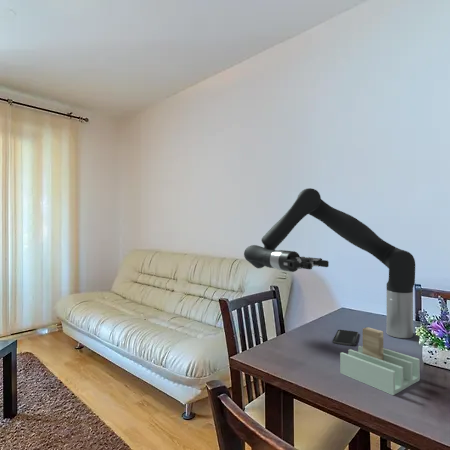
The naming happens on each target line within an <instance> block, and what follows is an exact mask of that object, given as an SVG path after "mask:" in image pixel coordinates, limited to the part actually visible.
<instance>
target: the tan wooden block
mask: <svg viewBox="0 0 450 450" xmlns="http://www.w3.org/2000/svg"><path fill="white" fill-rule="evenodd" d="M362 346H363V354H366V355H369V356H372V357H375V358H378V359H380V360H383V348H384V331H382V330H380V329H376V328H371V327H367V326H366V327H363V328H362Z"/></svg>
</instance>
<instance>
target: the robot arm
mask: <svg viewBox="0 0 450 450" xmlns="http://www.w3.org/2000/svg"><path fill="white" fill-rule="evenodd" d="M308 215H310V216H312V217H313V218H315V219H317V220H318V221H320V222H321V223H323V224H324V225H326V226H327V227H328V228H329V229H331V231H334V233H336V234H337V235H338V236H340V237H341V238H342V239H344V240H345V241H347V242H348V243H350V244H351V245H353V246H355V247H357V248H359V249H360V250H363V251H365V252H367V253H369V254H370V255H372V256H373V257H375V258H376V259H377V260H379V262H381V263H382V264H383V265H385V267H387V269H388V280H387V281H386V334H387V335H388V336H390V337H394V338H399V339H411V338H413V336H414V287H415V281H416V260H415V258H414V256H413V254H412V253H410V252H409V251H407V250H404V249H400V248H398V247H396V246H395V245H392V244H390V243H389V242H387V241H385V240H384V239H382V238H381V237H380V236H379V235H378V234H376V232H374V230H373V229H371V228H370V227H369V226H368V225H366V224H365V223H363V222H362V221H360V220H359V219H357V218H356V217H354V216H352V215H350V214H349V213H346V212H344V211H343V210H342V211H341V210H339V209H337V208H335V207H332V206H331V205H329V203H327V202H325V201H324V200H323V199H322V197H321V194H320V192H319V191H318V190H317V189H315V188H305V189H303V190H301V191H300V192H299V194H298V195H297V197H296V199H295V201H294V202H293V204H292V205H291V206H290V208H289V209H288V210H287V212H286V213H284V214H283V216H282V217H280V218H279V220H278V221H277V222H276V223H274V225H273V226H271V227H270V228H269V230H268V231H267V232H266V233H265V235H263V236H262V238H261V243H262V244H263V246H261V245H257V244H252V245H250V246H247V247H246V248H245V250H244V251H243V252H244V253H243V257H244V259H245V260H246V261H247V262H248V263H249V264H251V265H252V266H253V267H254V268H256V269H263V268H264V267H266V268H269V269H276V270H278V271H284V272H290V273H294V272H296V271H298V270H313V268H314V267H321V268H322V267H323V268H328V267H329V263H330V262H329V261H328V260H324V259H323V258H321V257H310V256H308V257H306V256H300V254H299V253H298V252H297V251H294V250H293V251H292V250H285V249H284V250H283V249H279V250H276V249H277V247H279V245H281V244H282V242H283V241H284V240H285V239H286V238H287V236H289V234H291V232H292V231H293V230H294V229H295V227H296V226H297V225H298V223H300V221H302V220H303V219H304V218H305V217H306V216H308Z"/></svg>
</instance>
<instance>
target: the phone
mask: <svg viewBox="0 0 450 450" xmlns="http://www.w3.org/2000/svg"><path fill="white" fill-rule="evenodd" d="M358 337H359V332H358V331H355V330H354V331H353V330H346V329H337V331H336V333H335V334H334V337H333V338H332V344H334V345H342V346H349V347H355V346H356V344H357V341H358Z"/></svg>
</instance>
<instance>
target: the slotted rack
mask: <svg viewBox="0 0 450 450" xmlns="http://www.w3.org/2000/svg"><path fill="white" fill-rule="evenodd" d="M347 351H348V352H347V353H346V352H339V358H340V359H339V361H340V362H339V365H340V366H339V367H340V368H339V369H340V370H339V371H340V372H339V373H340V374H341V375H344V376H346V377H349V378H350V379H353V380H356V381H357V382H360V383H363V384H365V385H367V386H370V387H373V388H375V389H377V390H380V391H381V392H384V393H387V394H389V395H391V396H395V395H397V394H398V393H400V392H402V391H403V390H405V389H408V388H409V387H410V386H412V385H414V384H415V383H418V382H419V381H420V378H421V376H420V374H421V373H420V372H421V371H420V367H421V365H420V364H421V362H420V361H421V359H420V358H417V357H414V356H411V355H408V354H405V353H401V352H398V351H395V350H392V349H388V348H385V347H383V360H380V359H378V358H375V357H372V356H369V355H366V354H363V345H358V346H357V350H353V349H351V348H350V349H348V350H347Z"/></svg>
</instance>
